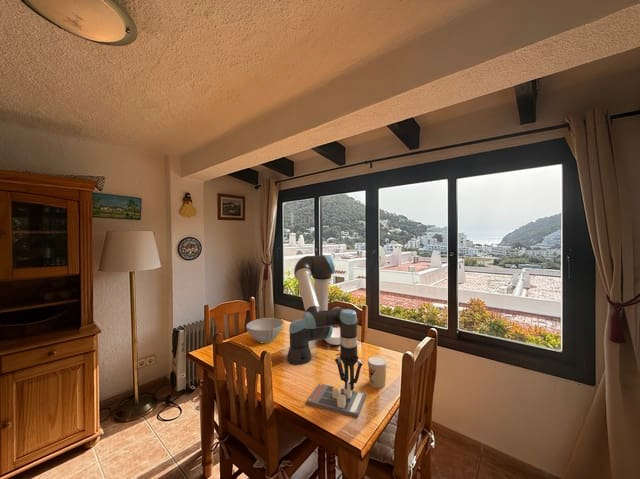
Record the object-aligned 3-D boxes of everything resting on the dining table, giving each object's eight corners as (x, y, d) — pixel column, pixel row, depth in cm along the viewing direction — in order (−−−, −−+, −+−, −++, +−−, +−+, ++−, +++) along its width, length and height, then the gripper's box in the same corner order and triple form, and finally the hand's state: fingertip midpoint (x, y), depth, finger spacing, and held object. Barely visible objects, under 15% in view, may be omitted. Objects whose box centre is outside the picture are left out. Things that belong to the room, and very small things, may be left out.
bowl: (353, 340, 188) (352, 330, 188) (341, 350, 173) (341, 339, 173) (331, 335, 198) (331, 326, 198) (318, 344, 183) (317, 334, 183)
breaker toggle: (332, 397, 120) (332, 388, 120) (334, 394, 123) (334, 385, 123) (338, 399, 119) (338, 390, 119) (340, 395, 122) (340, 386, 122)
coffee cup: (366, 379, 138) (365, 357, 137) (383, 378, 139) (383, 356, 138) (371, 390, 128) (370, 365, 128) (389, 388, 129) (389, 364, 129)
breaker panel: (306, 404, 119) (306, 392, 119) (319, 386, 132) (319, 375, 132) (358, 417, 109) (357, 404, 109) (366, 396, 123) (365, 385, 123)
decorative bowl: (280, 347, 179) (280, 330, 178) (241, 348, 179) (241, 330, 179) (286, 332, 205) (285, 317, 205) (252, 333, 206) (251, 318, 206)
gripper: (332, 346, 117) (333, 397, 118) (360, 350, 112) (361, 404, 113) (337, 339, 124) (338, 388, 124) (364, 343, 119) (365, 394, 119)
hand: (349, 396), depth 119 cm, fingers closed
